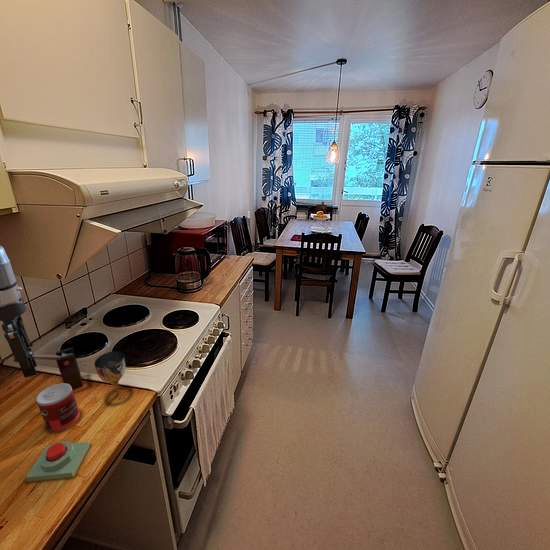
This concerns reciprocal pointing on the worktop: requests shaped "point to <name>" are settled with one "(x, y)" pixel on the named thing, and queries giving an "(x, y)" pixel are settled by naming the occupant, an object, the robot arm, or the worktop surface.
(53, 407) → the canned food
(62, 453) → the button
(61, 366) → the dark brown boxy piece
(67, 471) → the button box
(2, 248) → the robot arm
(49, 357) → the lever
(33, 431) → the worktop surface
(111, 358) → the wine glass
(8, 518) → the worktop surface
